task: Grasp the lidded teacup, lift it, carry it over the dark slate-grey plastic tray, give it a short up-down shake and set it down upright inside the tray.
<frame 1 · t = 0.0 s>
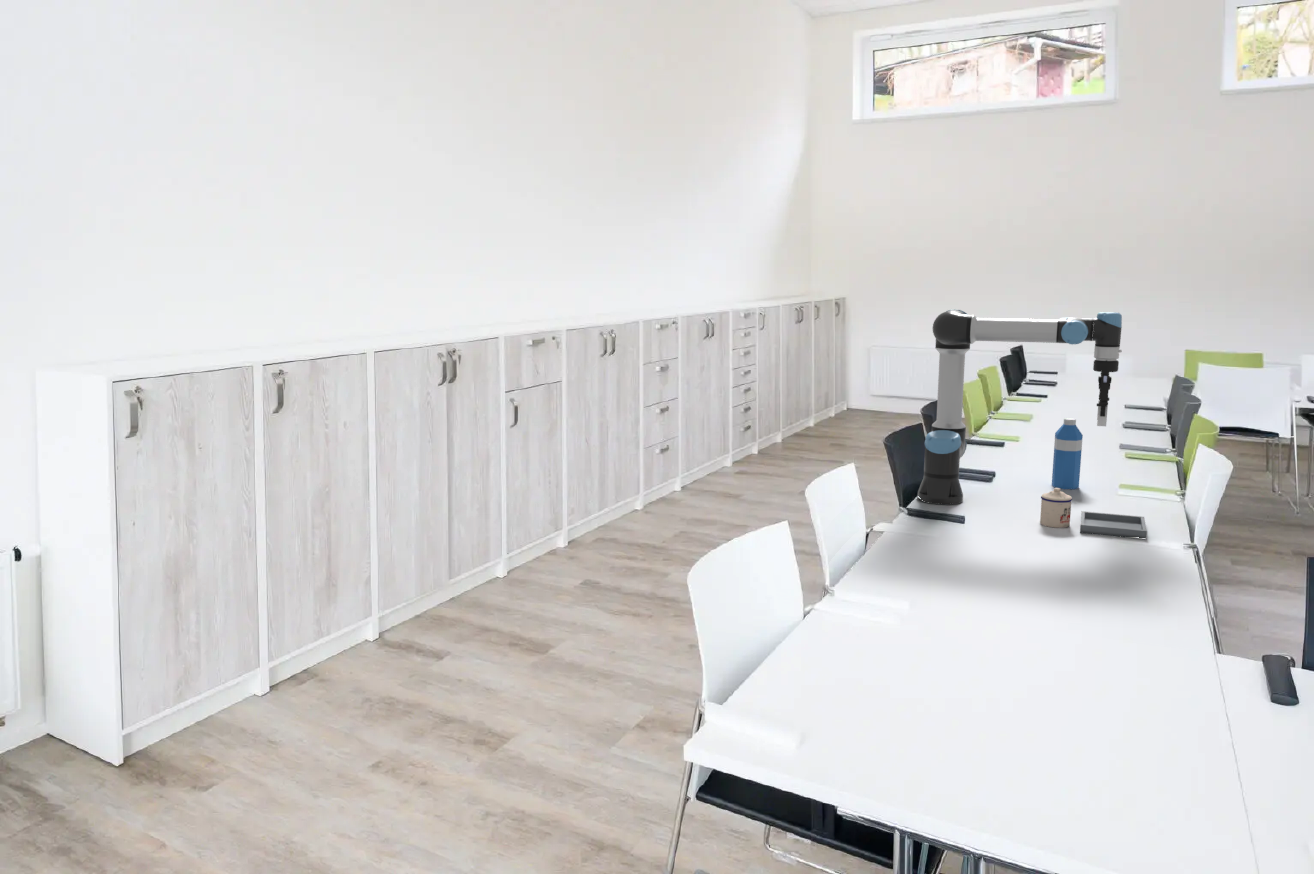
hand: (1101, 423, 326), 28 cm above the table, fingers open, 13 cm apart
teacup with lid: (1056, 524, 307), on the table
water bottle: (1065, 486, 358), on the table
tray: (1112, 528, 301), on the table
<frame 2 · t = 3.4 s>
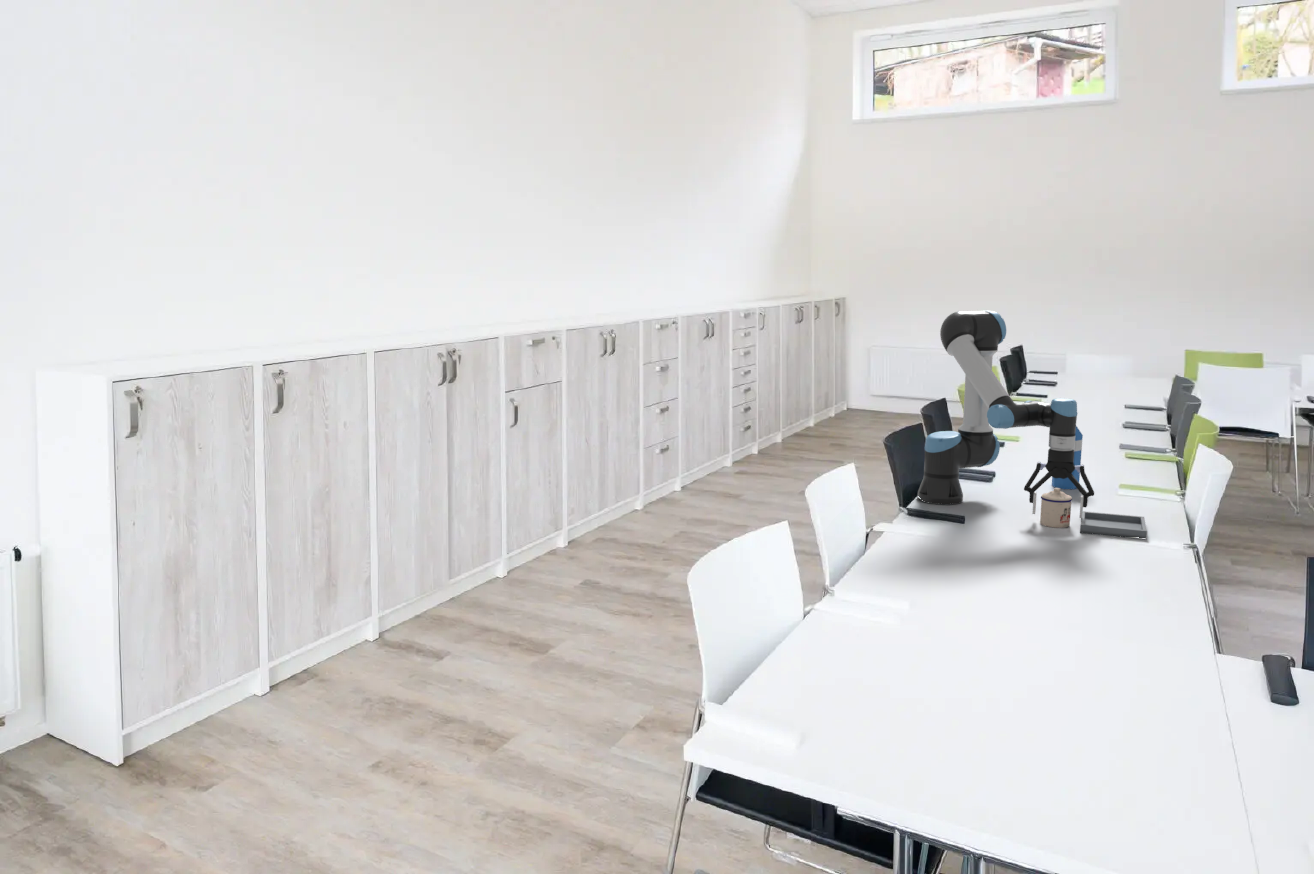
hand: (1057, 515, 307), 3 cm above the table, fingers open, 13 cm apart
nothing on the table moved.
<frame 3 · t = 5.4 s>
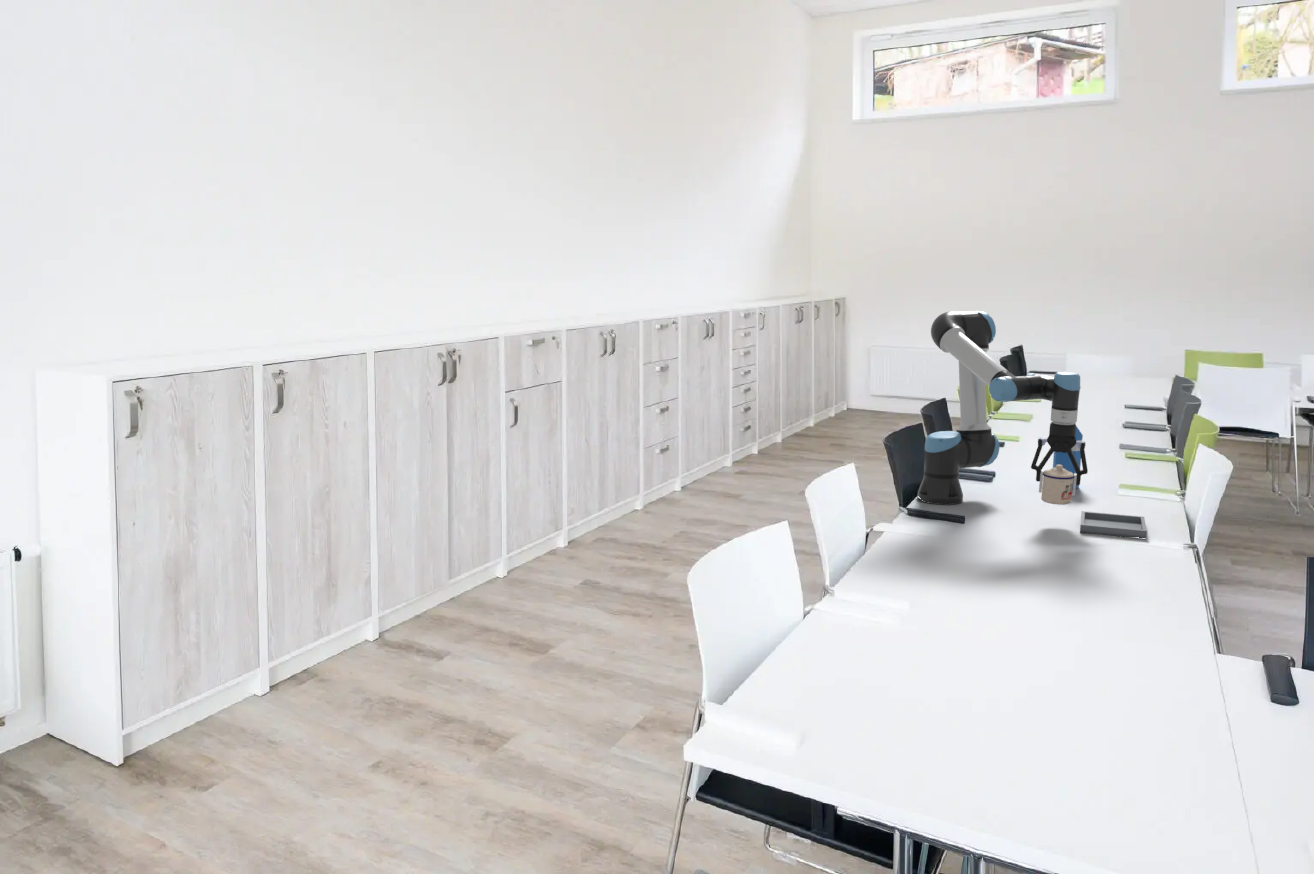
hand: (1056, 493, 306), 10 cm above the table, fingers closed on teacup with lid, 9 cm apart
teacup with lid: (1057, 501, 307), point 7 cm above the table, touching gripper
everything else where it was.
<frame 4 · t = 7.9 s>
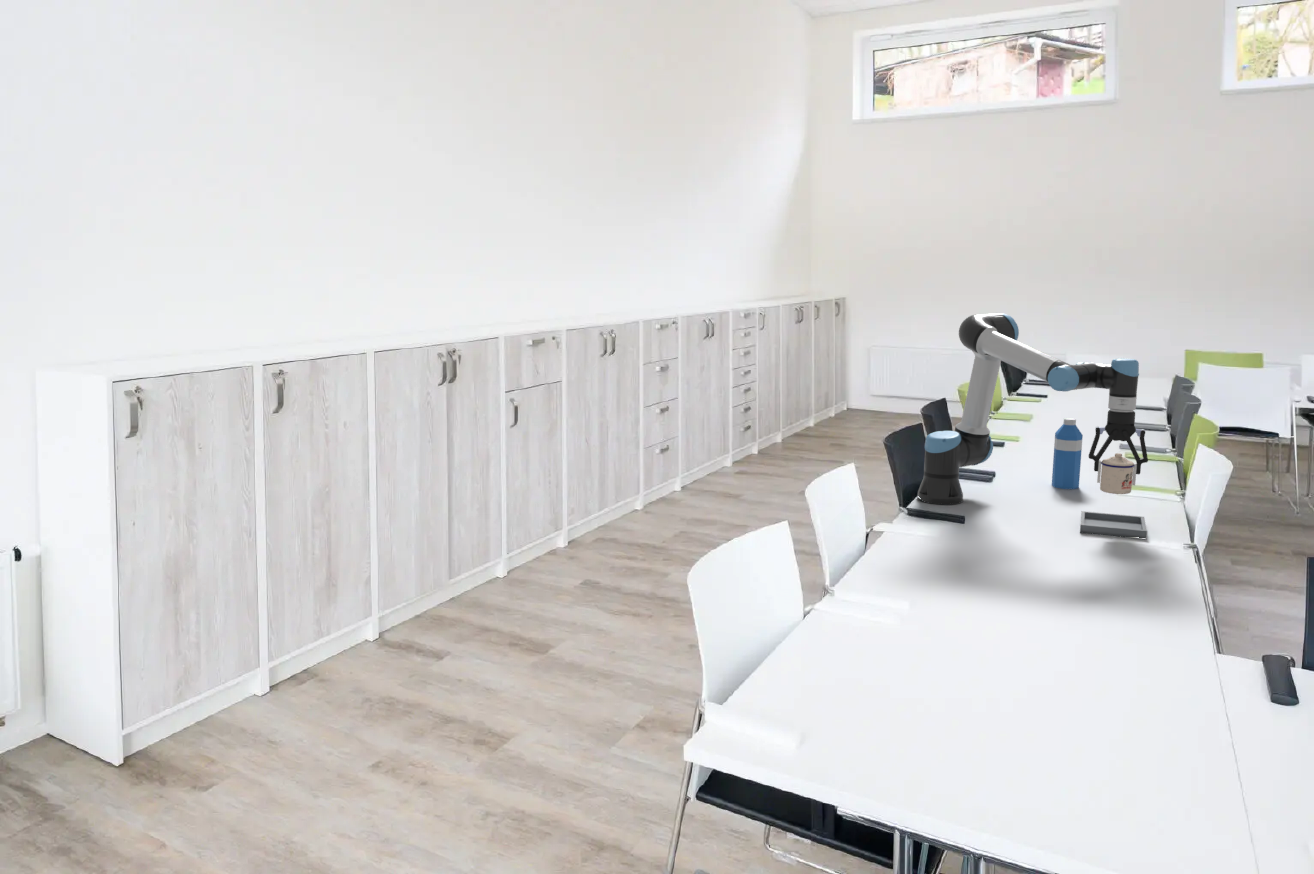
hand: (1115, 483, 299), 14 cm above the table, fingers closed on teacup with lid, 9 cm apart
teacup with lid: (1116, 491, 299), point 12 cm above the table, touching gripper
everything else where it was.
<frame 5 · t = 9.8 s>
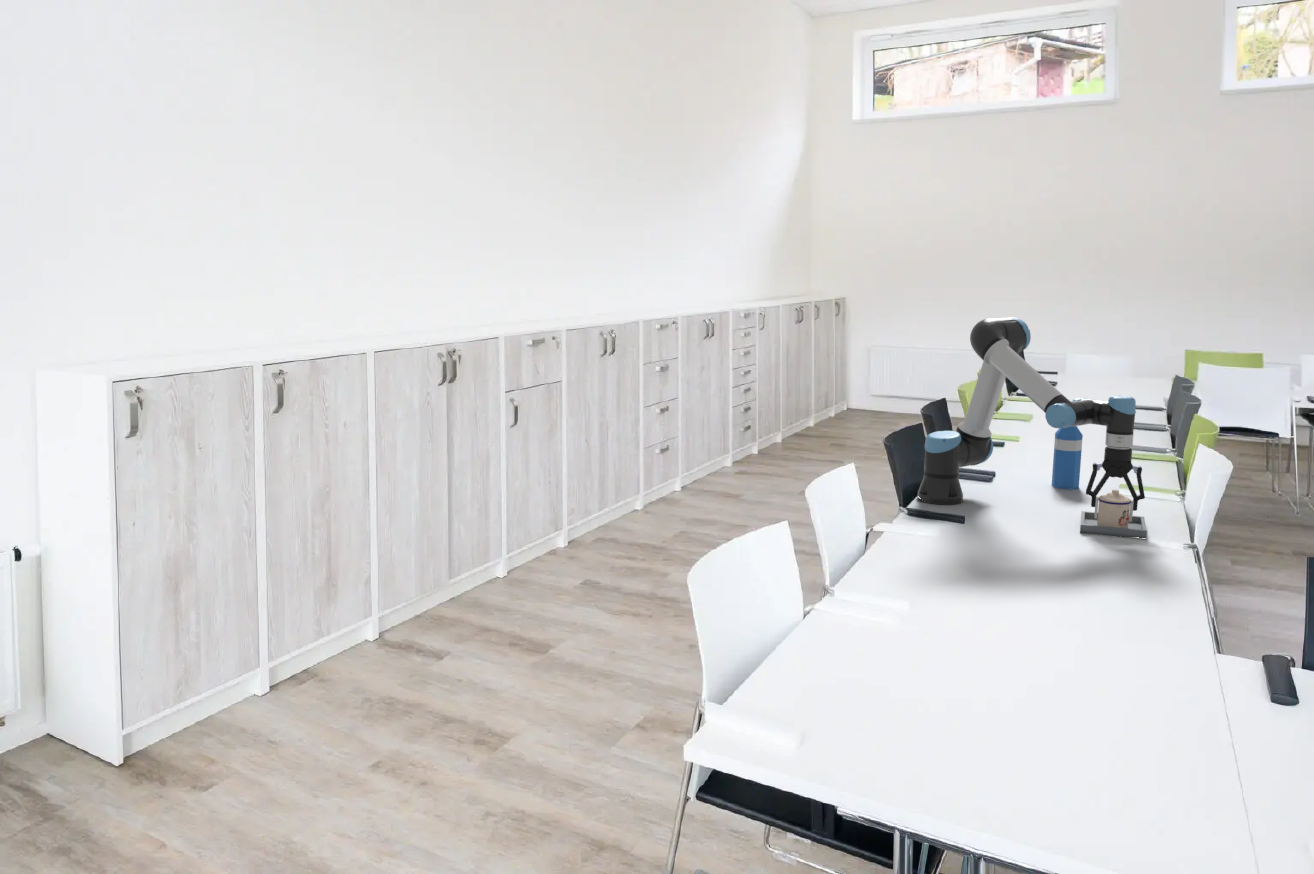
hand: (1112, 518, 301), 3 cm above the table, fingers closed on teacup with lid, 9 cm apart
teacup with lid: (1113, 526, 301), point 1 cm above the table, touching gripper
everything else where it was.
when the fingers open (3 cm above the table, at t = 10.7 s): teacup with lid stays where it is, resting on tray.
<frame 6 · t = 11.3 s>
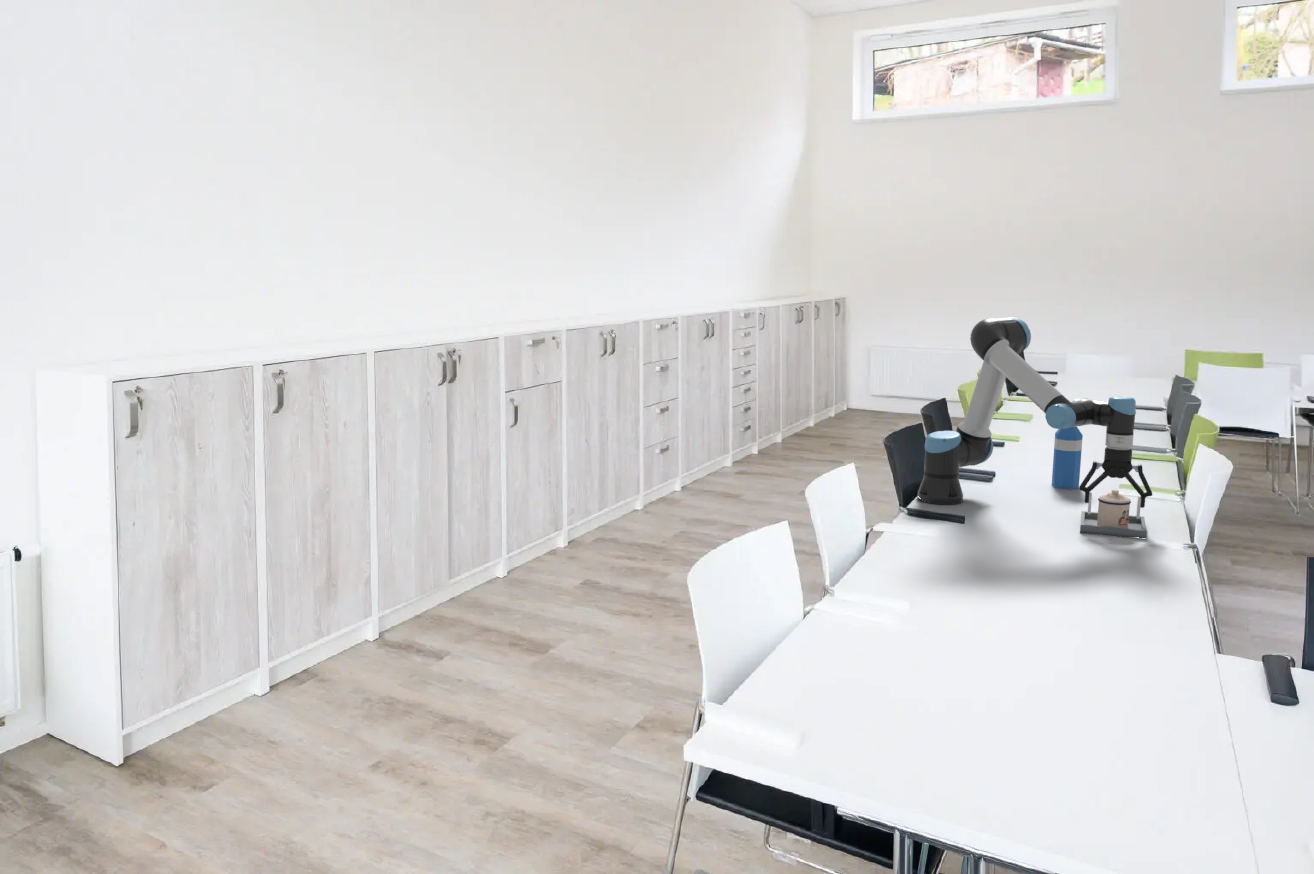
hand: (1113, 515, 300), 4 cm above the table, fingers open, 13 cm apart
teacup with lid: (1113, 527, 301), point 1 cm above the table, touching tray
everything else where it was.
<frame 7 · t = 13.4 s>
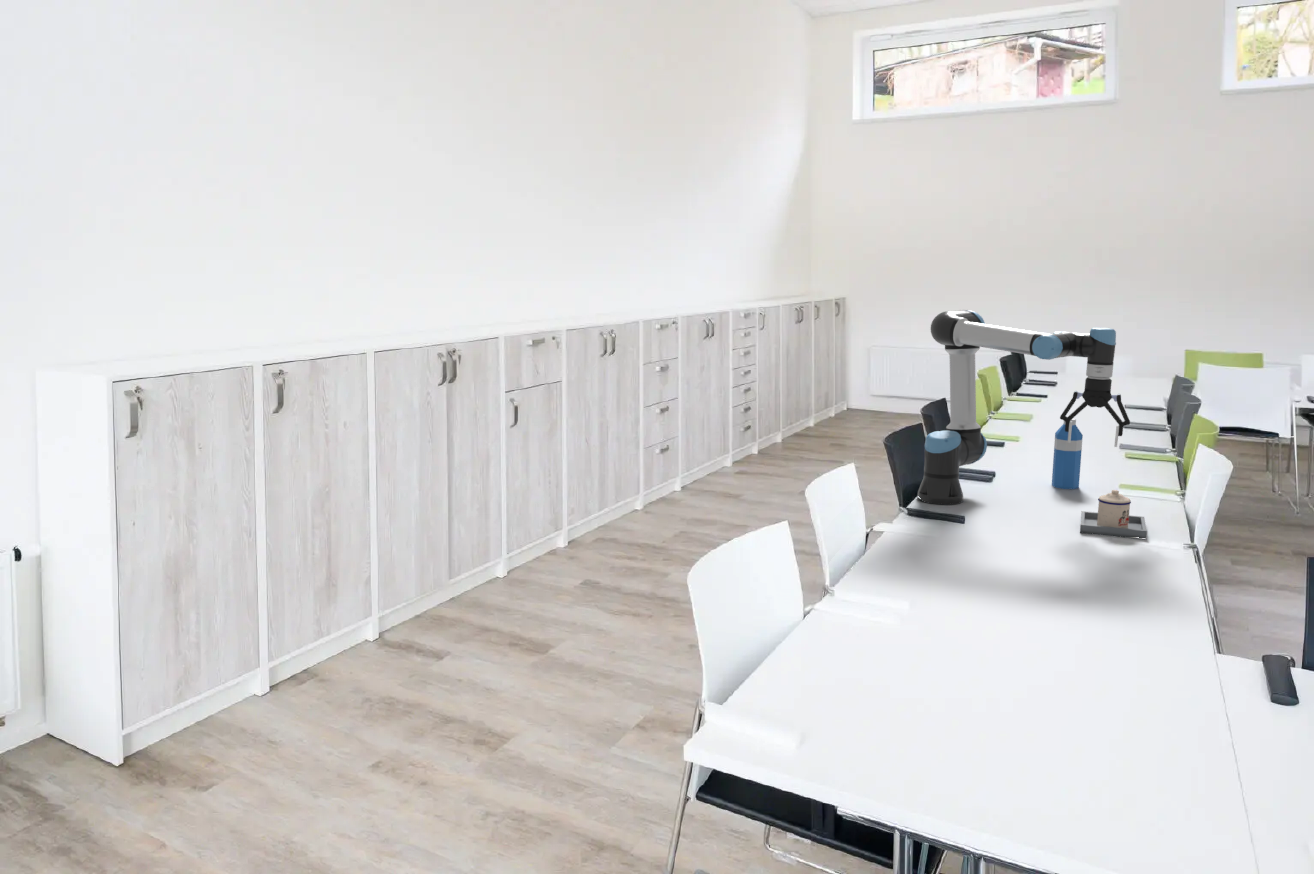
hand: (1092, 444, 310), 24 cm above the table, fingers open, 13 cm apart
nothing on the table moved.
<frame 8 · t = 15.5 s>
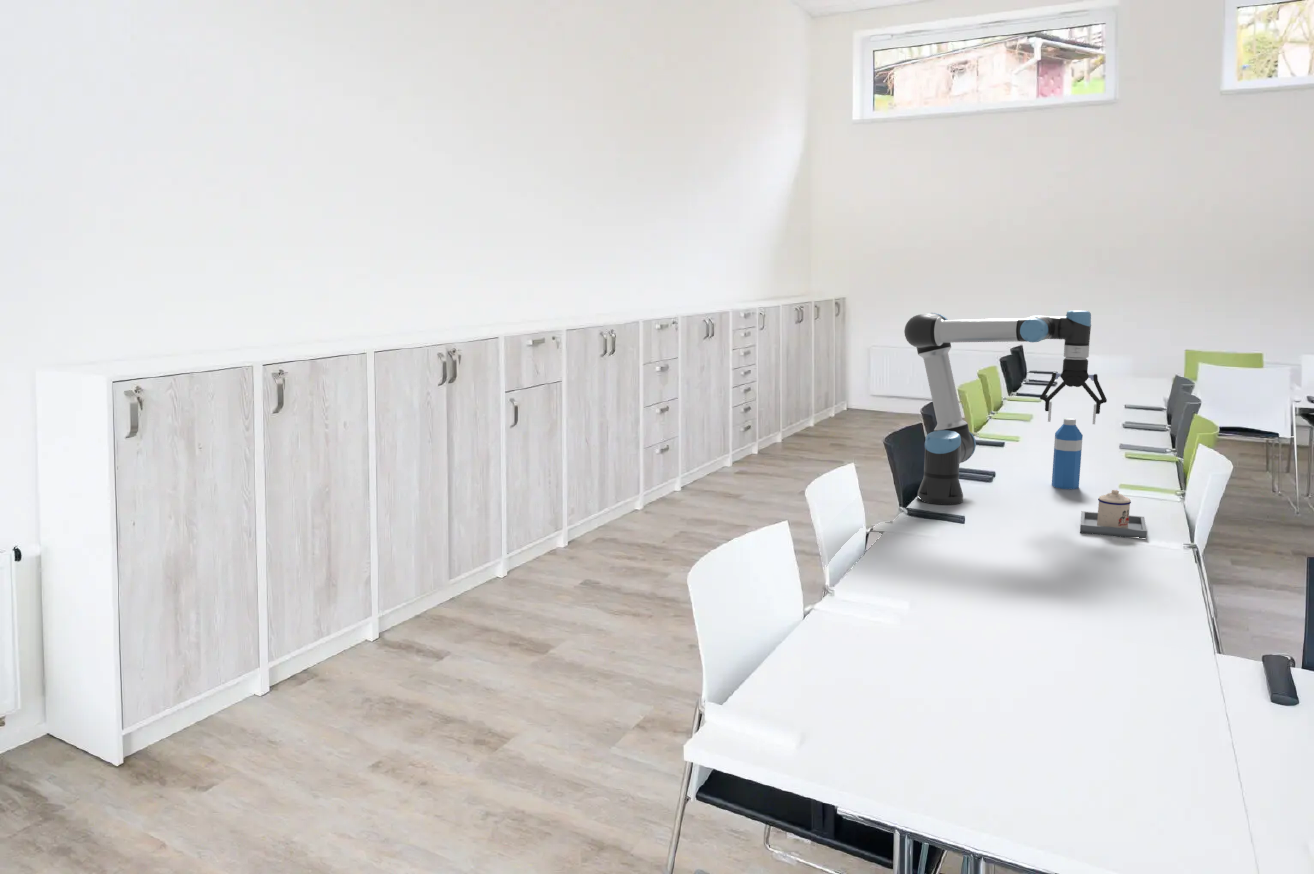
hand: (1071, 422, 323), 29 cm above the table, fingers open, 13 cm apart
nothing on the table moved.
at the end: teacup with lid inside the target area on the tray (0.4 cm from its centre), point 0.6 cm above the tray's base; teacup with lid tilted 0°; the gripper is holding nothing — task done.
